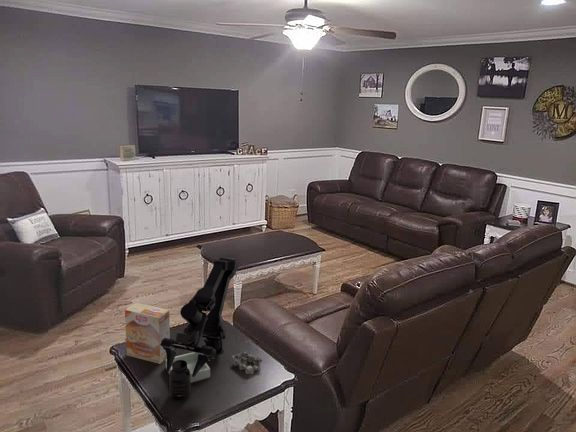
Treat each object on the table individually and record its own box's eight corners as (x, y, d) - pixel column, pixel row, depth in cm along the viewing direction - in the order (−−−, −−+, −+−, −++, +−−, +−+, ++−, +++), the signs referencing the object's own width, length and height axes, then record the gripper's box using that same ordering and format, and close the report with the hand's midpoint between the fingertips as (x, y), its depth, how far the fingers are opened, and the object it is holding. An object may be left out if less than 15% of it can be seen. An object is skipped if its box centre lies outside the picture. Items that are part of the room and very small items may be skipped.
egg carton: (263, 369, 163) (263, 360, 162) (247, 377, 158) (247, 367, 157) (246, 356, 171) (246, 347, 170) (230, 363, 166) (230, 354, 165)
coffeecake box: (126, 355, 166) (124, 309, 161) (137, 346, 173) (136, 301, 168) (160, 364, 162) (158, 317, 157) (170, 354, 169) (169, 309, 164)
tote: (198, 358, 167) (198, 350, 166) (210, 377, 156) (210, 368, 156) (165, 367, 161) (165, 359, 160) (175, 387, 150) (175, 378, 149)
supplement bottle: (171, 388, 150) (171, 357, 146) (191, 388, 150) (191, 357, 147) (167, 401, 143) (167, 370, 140) (189, 401, 144) (188, 369, 140)
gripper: (162, 316, 147) (145, 363, 140) (213, 326, 143) (198, 374, 136) (173, 326, 157) (158, 370, 149) (222, 335, 153) (208, 381, 145)
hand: (180, 374), depth 145 cm, fingers open, 9 cm apart
